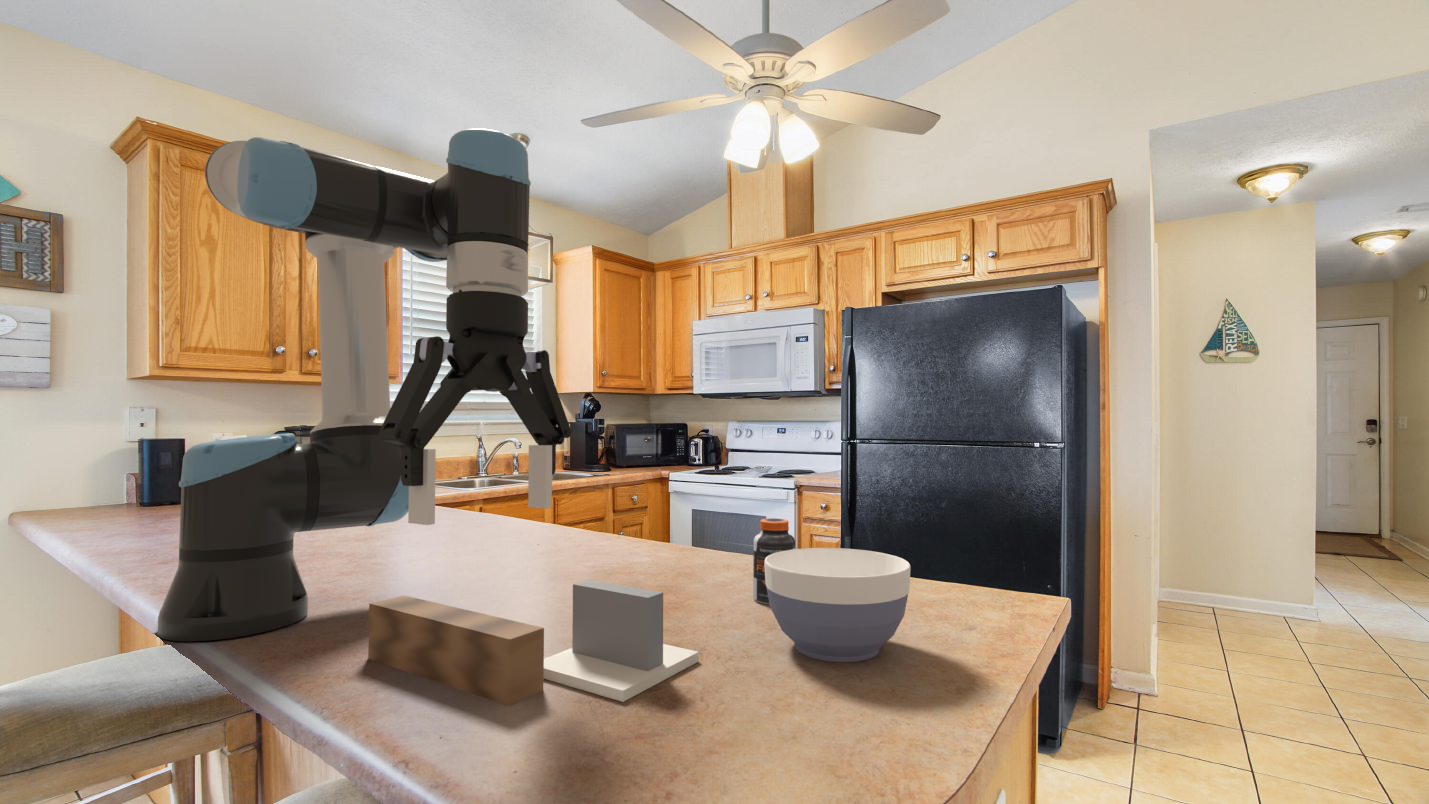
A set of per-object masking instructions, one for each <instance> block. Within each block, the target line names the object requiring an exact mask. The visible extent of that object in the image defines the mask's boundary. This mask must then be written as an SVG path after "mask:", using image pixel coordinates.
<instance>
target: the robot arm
mask: <svg viewBox="0 0 1429 804" xmlns="http://www.w3.org/2000/svg"><path fill="white" fill-rule="evenodd" d="M447 153H448V154H447V158H446V159H445V160H446V163H447V173H445V174H443V176H441V177H440V178H438V179H435V180H433V179H428V178H424V177H421V176H418V175H413V174H409V173H405V172H401V171H397V170H394V169H393V170H392V169H389V168H385V167H381V166H377V165H372V164H368V163H363V162H360V161H357V160H352V159H349V158H346V157H342V156H338V155H334V154H330V153H328V152H327V153H326V152H323V151H319V150H316V149H315V150H314V149H311V148H306V147H303V146H300V145H299V144H296V143H293V142H289V141H288V142H287V141H282V140H273V139H269V138H265V137H251V138H250V139H248V140H235V141H233V140H232V141H229V142H227V143H225V144H222V145H220V146H218V147H217V148H215V149H214V150H213V151H212V153H210V155H209V156H208V158H207V161H206V163H205V166H204V179H205V182H206V186H207V188H208V190H209V192H210V194H211V195H212V196H213V198H214V199H215V200H216V201H217V203H219V204H220V205H221V206H223V207H224V208H225V209H226V210H228V211H230V212H231V213H233V214H235V215H237V216H240V217H242V218H244V219H247V220H249V221H252V222H254V223H258V224H260V225H261V224H262V225H264V226H267V227H271V228H275V229H280V230H285V231H290V232H295V233H299V234H304V242H305V245H304V246H305V249H306V251H307V252H308V253H309V254H311V255H312V256H313V257H314V258H316V260H317V268H318V269H317V272H318V304H319V305H318V308H319V309H318V312H319V313H318V314H319V344H320V347H319V349H320V350H319V351H320V378H321V381H320V382H321V385H320V386H321V412H322V413H321V417H322V419H321V421H319V422H318V424H317V425H315V426H314V427H313V428H312V429H311V430H310V433H309V443H299V442H298V441H299V440H298V439H297V437H296V435H295V434H294V433H292V432H291V433H289V432H287V433H286V432H285V433H274V434H268V435H267V434H265V435H263V434H262V435H254V436H253V435H251V436H245V437H236V438H231V439H230V438H227V439H222V440H214V441H208V442H202V443H201V442H200V443H196V444H195V445H192V446H191V447H189V448H188V449H187V450H186V452H185V453H184V455H183V458H182V467H181V474H180V475H181V476H180V480H179V482H178V487H179V488H181V491H180V513H179V514H180V518H179V519H180V520H179V540H178V541H179V543H178V548H179V549H178V566H177V570H176V572H175V575H174V576H173V579H172V582H171V584H170V586H169V589H168V591H167V594H166V596H165V599H163V600H164V601H163V603H162V605H161V608H160V610H159V613H158V616H157V617H158V618H157V636H158V637H159V638H161V639H164V640H167V641H175V642H202V641H203V642H205V641H216V640H225V639H234V638H240V637H247V636H252V635H256V634H261V633H264V632H265V633H266V632H271V631H273V630H277V629H281V628H283V627H287V626H289V625H292V624H294V623H297V622H299V621H301V620H303V619H304V618H305V617H307V615H308V614H309V609H308V608H309V597H308V596H309V595H308V592H307V590H306V588H305V584H304V582H303V578H302V576H301V573H300V570H299V567H298V566H297V562H296V560H295V557H294V537H295V533H302V532H313V531H322V530H323V531H324V530H334V529H335V530H336V529H343V528H344V529H346V528H355V527H373V526H375V525H380V524H386V523H387V524H388V523H394V522H397V521H399V520H401V519H403V518H404V517H405V516H407V514H408V519H407V520H408V521H407V522H408V524H414V525H415V524H417V525H423V526H424V525H425V526H431V525H435V524H436V518H435V517H436V461H437V459H436V457H437V454H436V452H437V449H436V448H426V446H427V445H428V444H429V442H430V441H431V440H432V439H433V438H434V436H435V435H436V433H437V432H438V431H439V429H440V428H442V425H444V423H445V422H446V421H447V419H448V418H449V417H450V415H452V412H453V411H454V410H455V409H456V408H457V406H458V405H459V403H460V402H461V401H462V400H463V398H464V397H465V396H466V394H468V393H470V392H472V391H485V392H493V393H494V392H495V393H496V392H499V393H500V394H501V395H502V396H503V397H505V398H506V399H507V400H508V402H509V403H510V405H511V406H512V408H513V409H514V411H515V412H516V414H517V416H518V417H519V419H520V421H521V422H522V423H523V425H524V426H525V428H526V429H527V430H528V432H529V434H530V435H531V437H532V439H533V441H535V443H536V444H529V445H528V484H527V485H528V486H527V487H528V492H527V495H528V496H527V497H528V500H527V501H528V505H527V507H528V508H534V509H535V508H537V509H545V510H546V509H551V508H553V507H552V506H553V476H554V475H555V473H556V469H557V468H556V466H557V464H556V462H557V461H556V459H557V458H556V457H557V456H556V455H557V449H556V448H557V445H559V446H560V445H562V444H564V442H565V439H568V438H570V437H571V436H572V428H571V427H570V424H569V420H568V418H567V415H566V412H565V409H564V407H563V404H562V401H561V399H560V398H561V397H560V396H559V393H558V390H557V387H556V384H555V381H554V378H553V375H552V373H551V365H550V363H551V362H550V354H549V352H548V351H547V350H546V349H541V350H530V351H525V347H524V339H525V338H526V336H527V335H528V333H529V302H528V301H527V299H525V297H524V296H525V295H526V294H528V292H529V247H528V246H529V233H530V232H529V231H530V230H529V227H530V225H529V224H530V191H531V190H530V189H531V188H530V186H531V180H530V177H529V175H530V174H529V155H528V151H527V148H526V147H525V146H524V144H523V143H522V142H521V141H519V139H516V138H515V137H514V136H512V135H510V134H508V133H504V132H502V131H497V130H493V129H487V128H468V129H463V130H459V131H458V132H456V133H454V134H453V135H452V136H451V138H450V140H449V143H448V151H447ZM399 248H401V249H405V250H406V251H407V252H409V253H410V254H411V255H412V256H414V257H416V258H417V259H419V260H423V261H425V262H430V263H431V262H432V263H435V262H436V263H437V262H438V263H439V262H445V261H446V275H445V276H446V279H445V280H446V281H445V282H446V283H445V286H446V288H447V289H448V290H449V291H450V292H451V294H449V295H448V296H447V297H446V306H445V307H446V309H445V310H446V312H445V313H446V315H445V321H446V322H445V328H446V329H445V330H446V331H447V332H448V334H449V338H448V341H445V340H444V339H443V338H442V337H441V336H429V337H420V338H418V339H417V340H416V343H415V346H414V347H415V348H414V355H413V356H414V357H413V362H412V365H411V367H410V368H409V371H408V372H407V375H406V377H405V378H404V381H403V382H402V384H401V387H400V389H399V390H398V392H397V395H396V397H395V399H394V401H393V403H392V405H391V395H390V375H389V374H390V373H389V372H390V371H389V354H388V353H389V351H388V333H387V332H388V329H387V308H386V304H387V303H386V287H385V263H386V262H388V261H389V260H390V259H391V258H392V257H394V255H395V249H399ZM446 360H447V361H448V363H449V365H450V366H451V369H450V370H449V371H448V372H447V374H446V375H445V376H444V377H443V378H442V380H441V381H440V384H439V385H440V386H439V387H438V388H437V390H436V391H435V392H434V394H433V395H432V397H430V399H429V400H428V401H427V402H426V399H427V398H428V396H429V393H430V391H431V389H432V387H433V385H434V383H435V382H436V379H437V376H438V374H439V372H440V369H441V367H442V364H443V363H444V362H445V361H446ZM523 370H525V374H524V372H523ZM425 402H426V404H425Z"/></svg>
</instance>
